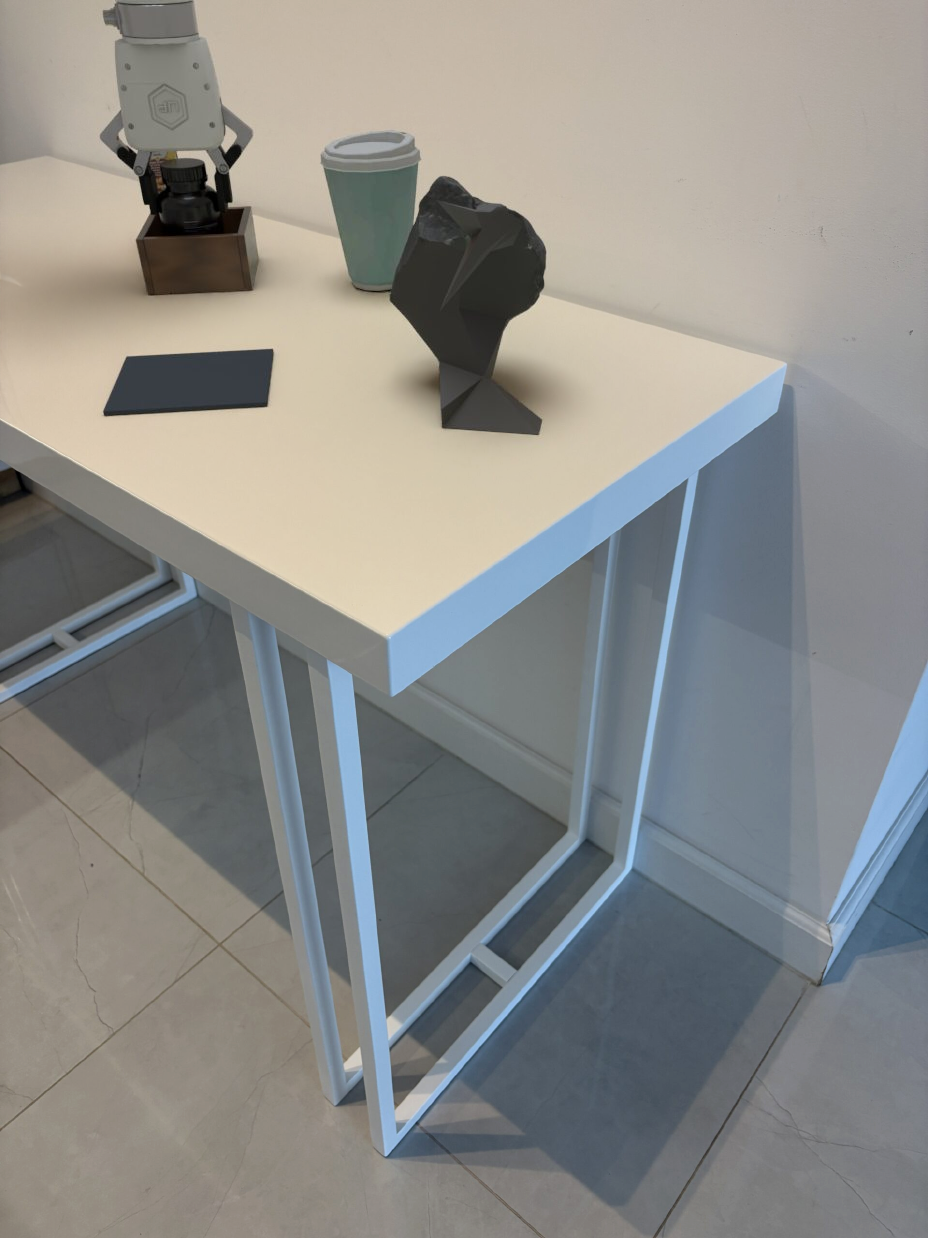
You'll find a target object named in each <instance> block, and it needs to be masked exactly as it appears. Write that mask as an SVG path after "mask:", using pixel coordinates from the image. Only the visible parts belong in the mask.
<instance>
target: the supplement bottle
mask: <svg viewBox="0 0 928 1238" xmlns="http://www.w3.org/2000/svg"><path fill="white" fill-rule="evenodd" d="M160 170H161V175H162V177H161V178H162V183H163V184H165V188H164V189H163V190H161V192H160V193H159V195H158V198H157V204H158V210H159V215H160V220H161V225H162V231H163V236H188V235H211V234H225V231H224V224H223V218H222V213H221V212H219V206H218V200H217V193H216V189H215V188H213V187H212V186H210V185H208V184H207V182H208V181H209V174H207V167H206V163H205V161H204V160H203V159H200V158H193V157H178V158H177V159H171V160H167V161H164V162H162V163H161V164H160Z"/></svg>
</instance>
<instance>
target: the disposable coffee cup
mask: <svg viewBox="0 0 928 1238" xmlns="http://www.w3.org/2000/svg"><path fill="white" fill-rule="evenodd" d="M415 140H416V139H415V136H413V135H412V134H410V133H409V132H406V131H401V130H394V129H389V130H377V131H368V132H363V133H358V134H352V135H347V136H345V137H342V138H339V139H336V140H332V141H331V142H330V143H328V144H327V145H325V147H324V150H323V151H321V153H320V165H321V166H322V167H323V171H324V176H325V180H326V184H327V188H328V193H329V197H330V201H331V205H332V209H333V214H334V218H335V222H336V226H337V231H338V235H339V239H340V243H341V247H342V252H343V256H344V260H345V264H346V267H347V273H348V277H349V278H350V279H351V283H352V284H353V286H354V287H355V288H357V289H360V290H363V291H373V292H374V291H378V292H380V291H381V292H383V291H388V290H390V291H391V288H392V284H393V280H394V276H395V271H396V268H397V266H398V264H399V262H400V258H401V256H402V253H403V251H404V248H405V245H406V242H407V240H408V237H409V234H410V231H411V229H412V227H413V225H414V223H415V209H416V197H417V183H418V174H419V162H420V161H422V158H421V150H420V149H419V148H418V147H416V141H415Z"/></svg>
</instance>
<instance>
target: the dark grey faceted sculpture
mask: <svg viewBox="0 0 928 1238" xmlns="http://www.w3.org/2000/svg"><path fill="white" fill-rule="evenodd" d="M546 268H547V248H546V245H545V243H544V241H543V240H542V238H541V237H540V236H539V235H538V234H537V232H536V230H535V228H534V227H533V225H532V223H531V222H530V220H528V218H527V217H525V216H524V215H522V214H521V213H519V212H518V211H516V210H514V209H510V208H509V207H507V205H505V204H502V203H497V202H496V203H494V202H487V201H485V200H484V201H483V200H482V199H480V198H479V197H476V196H473V195H472V194H471V193H470V192H469V191H468V190H467V189H466V188H465V187H464V186H463V185H462V184H461V183H460V182H459V181H458V180H456V179H455V178H453V177H451V176H447V175H440V176H438V177H437V178H436V179H435V180H434V181H433V183H432V184H431V185H430V187H429V189H428V191H427V192H426V193H425V195H424V196H423V197H422V198H421V199H420V201H419V203H418V212H417V216H416V217H415V220H414V223H413V227H412V229H411V231H410V234H409V237H408V240H407V242H406V245H405V248H404V251H403V253H402V256H401V258H400V262H399V264H398V266H397V268H396V271H395V276H394V280H393V284H392V288H391V289H390V294H389V302H390V303H391V304H392V305H393V307H395V309H397V310H398V311H399V313H400V314H401V315H402V316H403V317H404V318H405V320H406V321H408V323H409V324H410V326H411V327H412V328H413V329H414V331H415V332H416V333H417V334H418V336H419V337H420V338H421V340H422V341H423V342H424V343H425V345H426V346H427V347H428V349H429V350H430V351H431V353H432V354H433V355H434V357H435V358H436V360H437V361H438V379H439V398H440V399H439V400H440V401H439V402H440V416H441V417H440V418H441V419H440V420H441V428H442V429H443V428H444V429H457V430H470V431H471V430H473V431H485V432H498V433H499V432H500V433H511V434H513V433H514V434H528V435H540V431H541V427H542V424H543V423H542V422H543V419H542V418H541V417H540V416H538V414H536V413H535V412H534V411H532V410H531V409H530V408H528V406H526V405H525V404H524V403H523V402H521V401H520V400H519V399H517V398H516V397H515V396H514V395H513V394H511V393H510V392H509V391H508V390H507V389H505V388H504V387H503V386H502V385H500V384H499V383H498V382H496V381H495V380H494V379H493V375H494V370H495V367H496V363H497V359H498V354H499V351H500V347H501V343H502V338H503V334H504V332H505V330H506V329H507V326H508V324H509V323H510V321H511V320H513V319H515V318H516V317H518V316H519V315H522V314H524V313H525V312H528V311H529V310H530V309H531V308H532V307H533V306H534V305H535V304H536V303H537V302H538V300H539V299H540V296H541V293H542V291H543V290H544V289H545V279H544V276H545V272H546Z"/></svg>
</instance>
